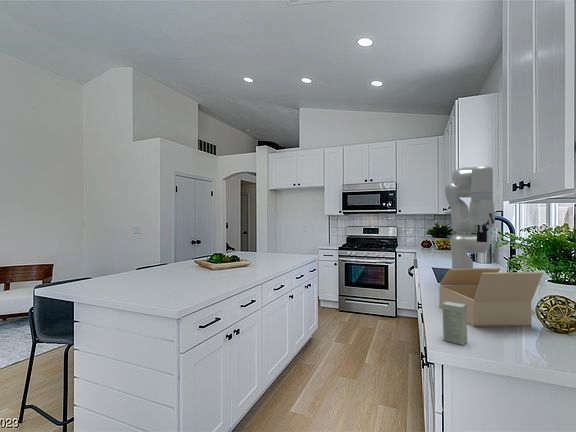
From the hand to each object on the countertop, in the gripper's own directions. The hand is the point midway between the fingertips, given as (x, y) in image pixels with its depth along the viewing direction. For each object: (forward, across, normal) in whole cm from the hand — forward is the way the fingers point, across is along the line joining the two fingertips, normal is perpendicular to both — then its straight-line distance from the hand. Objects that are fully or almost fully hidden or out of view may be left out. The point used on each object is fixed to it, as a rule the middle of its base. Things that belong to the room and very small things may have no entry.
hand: (481, 241), depth 124 cm
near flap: (+16, -8, 0) cm, 18 cm away
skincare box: (+30, +24, -25) cm, 46 cm away
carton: (+31, 0, 0) cm, 31 cm away
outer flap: (+15, +14, 0) cm, 20 cm away
